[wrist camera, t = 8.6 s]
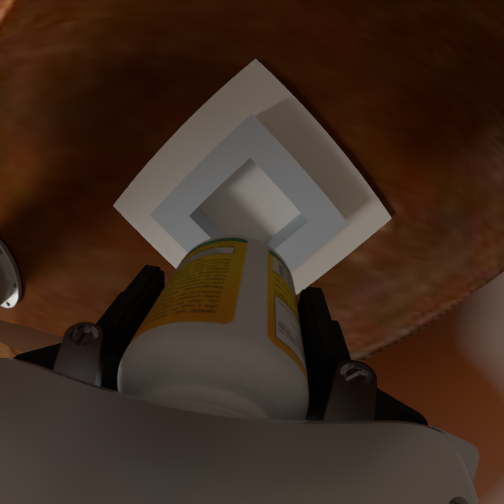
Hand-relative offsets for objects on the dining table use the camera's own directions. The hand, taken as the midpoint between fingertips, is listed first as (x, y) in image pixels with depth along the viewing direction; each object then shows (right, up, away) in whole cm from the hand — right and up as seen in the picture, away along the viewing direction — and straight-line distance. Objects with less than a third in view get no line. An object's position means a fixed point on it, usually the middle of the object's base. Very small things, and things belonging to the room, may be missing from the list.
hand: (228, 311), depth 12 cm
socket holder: (+1, +7, +16) cm, 18 cm away
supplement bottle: (0, +1, +2) cm, 2 cm away
